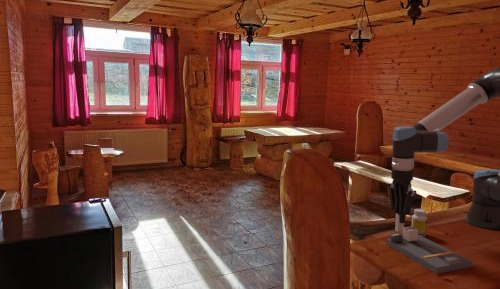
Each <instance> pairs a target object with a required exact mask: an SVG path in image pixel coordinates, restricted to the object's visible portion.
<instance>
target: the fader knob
mask: <svg viewBox="0 0 500 289" xmlns="http://www.w3.org/2000/svg"><path fill="white" fill-rule="evenodd" d="M402 233H403V239H405V240H406V241H408V242H409V241H415V240H418V229H416V227H411V226H408V227H404V228H403V231H402Z"/></svg>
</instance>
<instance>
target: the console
mask: <svg viewBox="0 0 500 289" xmlns="http://www.w3.org/2000/svg"><path fill="white" fill-rule="evenodd" d="M385 245H387V246H389V247H391V248H392V249H394V250H395V251H397V252H398V253H401V255H404V256H406V257H407V258H409V259H411V260H412V261H414V262H416V263H417V264H419V265H421V266H423V267H424V268H426V269H427V270H429V271H431V272H432V273H435V274H443V273H447V272H448V273H449V272H453V271H458V270H465V269H468V268H469V269H470V268H473V267H472V266H473V260H470V259H469V258H467V257H464V256H463V255H461V254H459V253H456V252H454V251H452V250H450V249H448V248H447V247H444V246H442V245H440V244H438V243H437V242H434V241H433V240H430V239H428V238H426V237H425V236H423V237H422V236H420V235H418V240H415V241H409V242H408V241H406V240H405V239H403V232H402V233H398V232H391V234H390V238H386V244H385Z"/></svg>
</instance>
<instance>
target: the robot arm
mask: <svg viewBox="0 0 500 289" xmlns="http://www.w3.org/2000/svg"><path fill="white" fill-rule="evenodd" d="M498 98H500V66H499V67H496V68H493V69H491V70H489V71H488V72H485V73H483V74H482V75H480V76H479V77H478V78H475V79H473V81H472V82H470V83H469V84H468V85H467V87H466V89H464V90H463V91H462V92H460V93H458V94H457V95H455V96H454V97H452V98H451V99H450V100H448V101H447V102H445V103H444V104H443V105H441V106H439V107H438V108H437V109H435V110H434V111H433V112H431V113H429V114H427V115H426V117H423V118H422V119H421V120H420V121H418V122H416V123H415V124H413V125H412V126H405V125H404V126H396V127H394V129H393V133H392V134H393V135H392V153H391V155H392V156H391V157H392V158H391V167H392V168H391V172H390V173H391V174H390V175H391V176H390V177H391V179H392V182H391V183H388V184H387V188H388V190H389V191H388V192H389V200H390V208H391V210H392V211H394V221H395V225H394V226H395V227H394V230H395V231H396V232H401V231H402V232H403V228H405V223H406V215H410V214H411V211H412V207H413V202H414V198H415V196H416V195H417V190H414V189H413V188H412V180H414V170H413V169H415V153H435V154H436V153H441V152H445V151H447V149H448V147H449V141H450V139H449V136H448V134H447V133H446V132H443V131H441V130H443V129H444V128H446V127H447V126H448V125H450V124H452V123H453V122H454V121H456V120H457V119H459V118H460V117H462V116H464V115H465V114H466V113H468V112H469V111H471V110H473V109H474V108H475V107H477V106H478V105H480V104H485V103H488V102H489V101H491V100H493V99H498ZM472 185H473V186H472V197H471V198H472V199H471V200H472V201H471V205H470V207H469V209H468V211H467V213H466V216H465V221H466V222H467V223H468V224H470V225H472V226H476V227H478V228H479V227H480V228H482V229H483V228H484V229H490V230H500V169H493V168H492V169H491V168H489V169H488V168H487V169H485V168H484V169H476V170H475V171H474V174H473V184H472Z"/></svg>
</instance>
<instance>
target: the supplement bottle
mask: <svg viewBox="0 0 500 289" xmlns="http://www.w3.org/2000/svg"><path fill="white" fill-rule="evenodd" d="M426 211H427V210H425V209H423V208H415V209H414V212H413V213H414V214H412V216H411V226H410V227H416V229H418V235H420V236H422V237H425V236H427V228H428V227H427V225H428V217H427V215H426V214H427V213H426Z"/></svg>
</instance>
